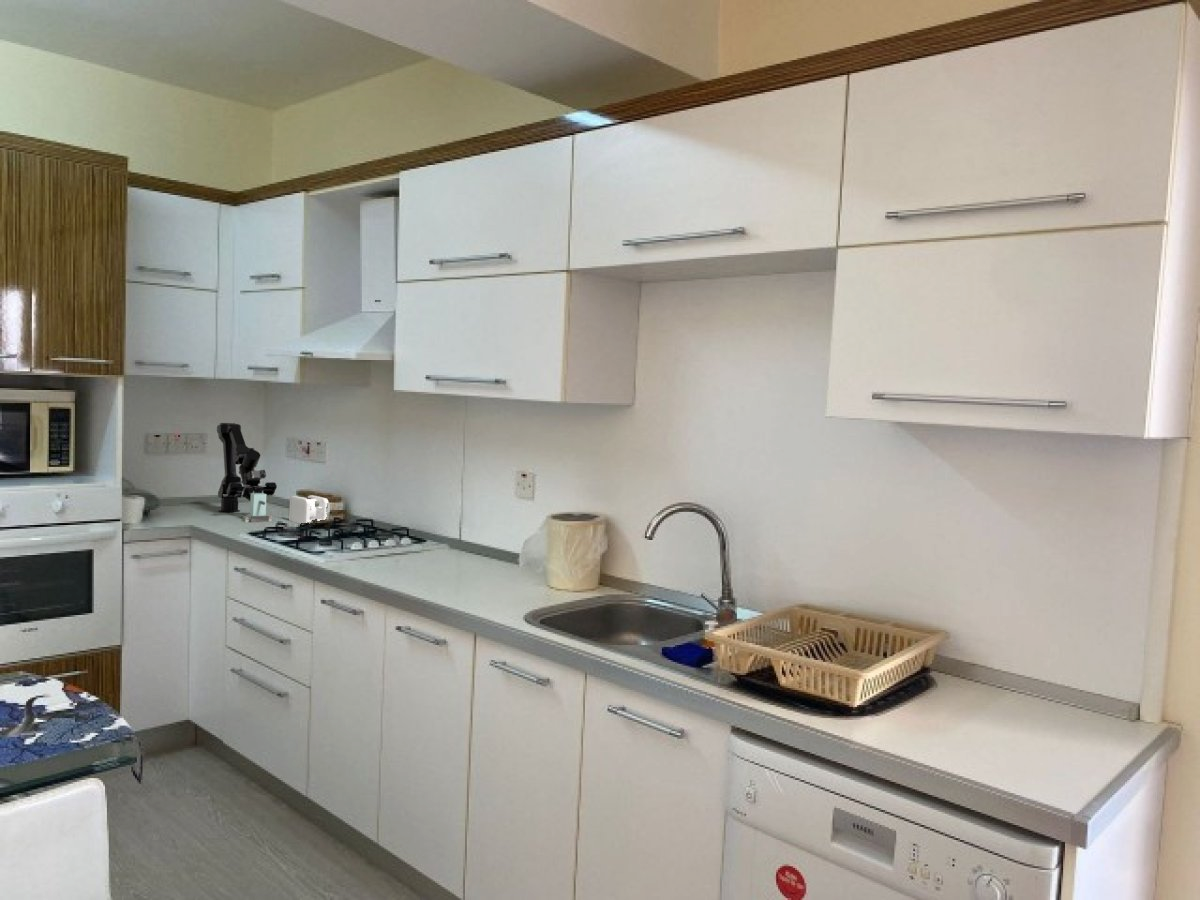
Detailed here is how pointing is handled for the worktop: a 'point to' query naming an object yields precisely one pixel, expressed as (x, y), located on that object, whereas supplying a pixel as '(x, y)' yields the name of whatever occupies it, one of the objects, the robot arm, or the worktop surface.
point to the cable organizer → (307, 509)
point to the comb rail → (258, 518)
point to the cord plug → (257, 504)
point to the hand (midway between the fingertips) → (256, 505)
